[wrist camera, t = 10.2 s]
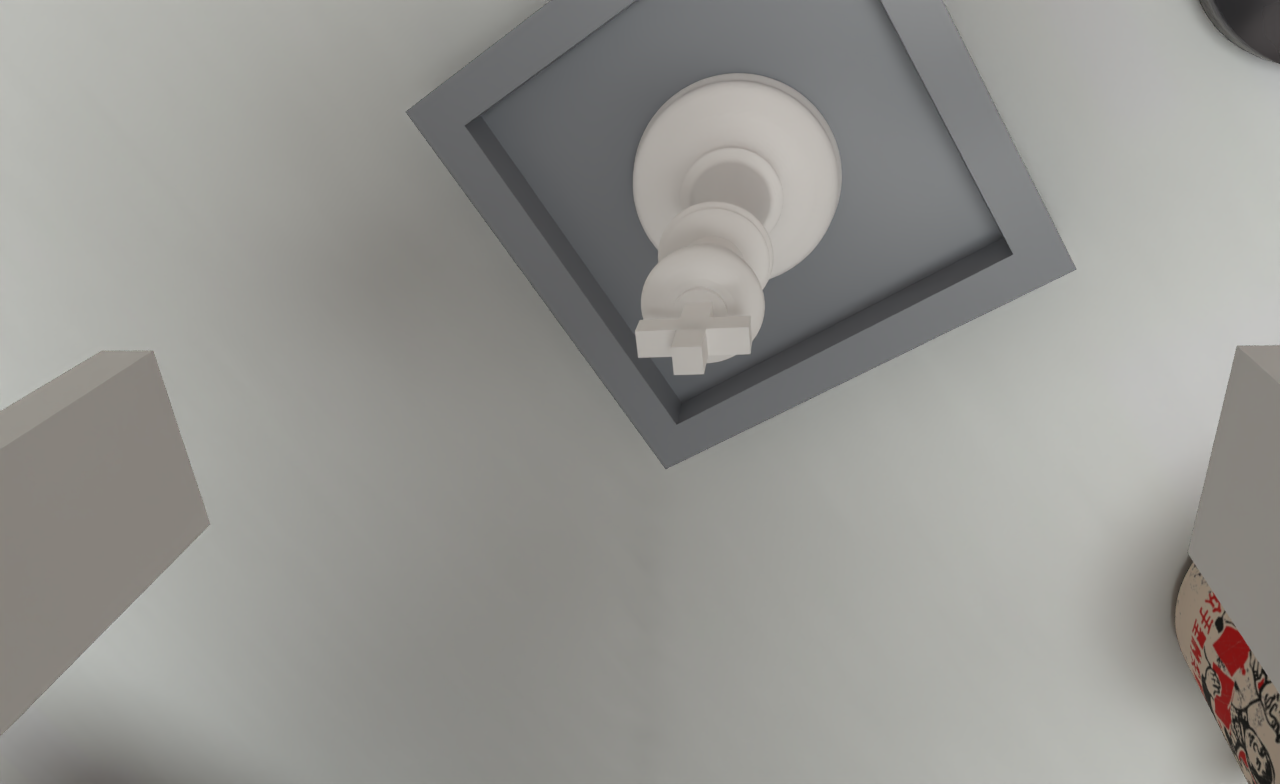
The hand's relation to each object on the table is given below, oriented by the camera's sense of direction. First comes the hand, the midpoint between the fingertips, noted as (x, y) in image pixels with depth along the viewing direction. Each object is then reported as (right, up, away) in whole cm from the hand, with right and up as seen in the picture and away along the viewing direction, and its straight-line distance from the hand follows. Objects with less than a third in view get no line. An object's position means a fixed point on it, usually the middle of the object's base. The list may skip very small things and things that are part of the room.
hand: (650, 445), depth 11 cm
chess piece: (+2, +6, +10) cm, 12 cm away
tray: (+2, +6, +11) cm, 13 cm away
